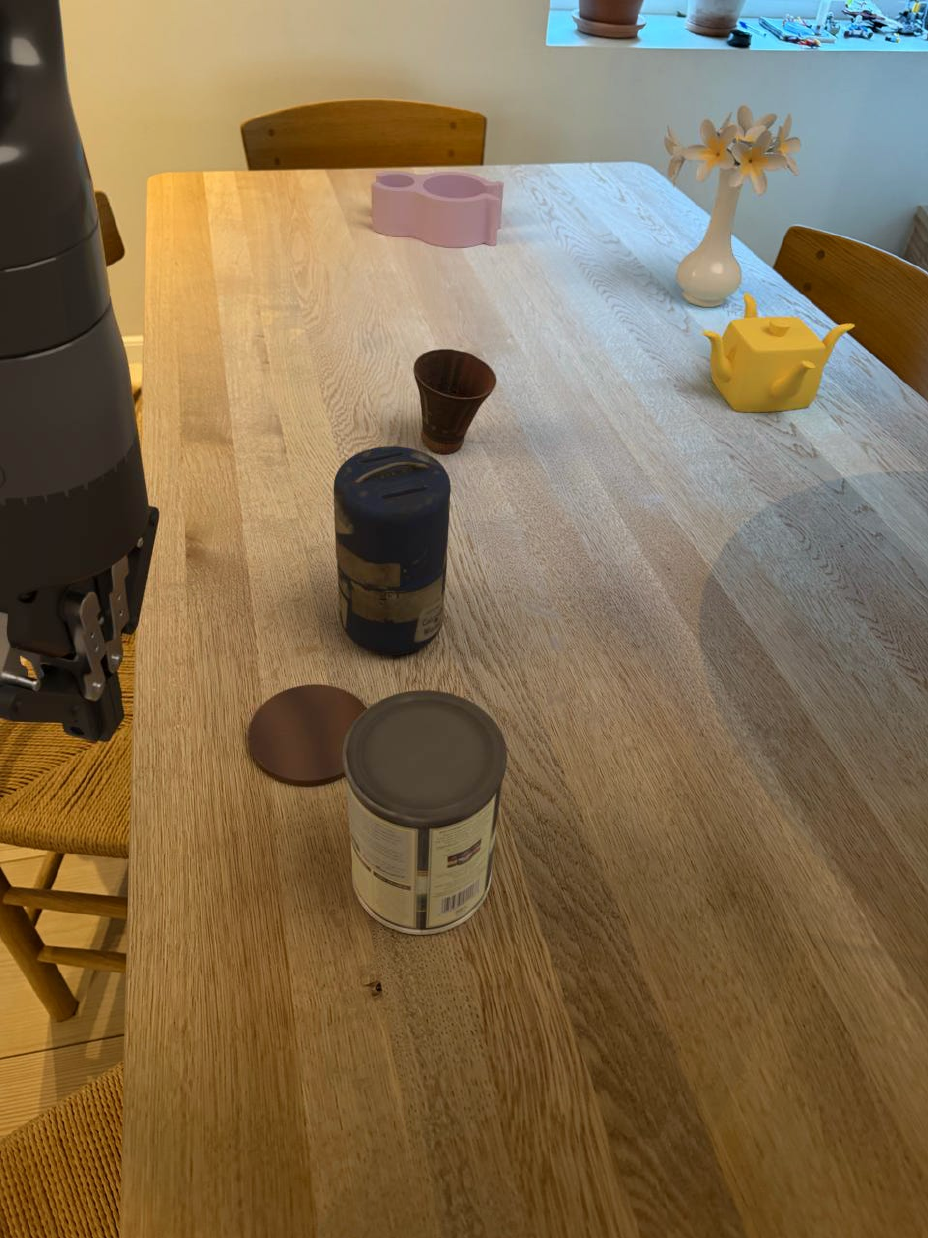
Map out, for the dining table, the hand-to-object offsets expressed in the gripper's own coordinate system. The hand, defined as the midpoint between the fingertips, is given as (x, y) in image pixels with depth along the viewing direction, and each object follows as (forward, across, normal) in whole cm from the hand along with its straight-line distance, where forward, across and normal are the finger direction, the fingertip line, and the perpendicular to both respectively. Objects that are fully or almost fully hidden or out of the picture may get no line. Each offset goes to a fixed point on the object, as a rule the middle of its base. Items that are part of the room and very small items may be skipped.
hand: (96, 727), depth 45 cm
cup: (+27, -65, +5) cm, 70 cm away
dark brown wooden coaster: (+26, -21, +4) cm, 33 cm away
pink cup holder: (+29, -123, -11) cm, 127 cm away
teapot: (+24, -88, +40) cm, 99 cm away
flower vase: (+25, -112, +32) cm, 119 cm away
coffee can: (+25, -11, +16) cm, 31 cm away
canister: (+26, -35, +7) cm, 44 cm away
